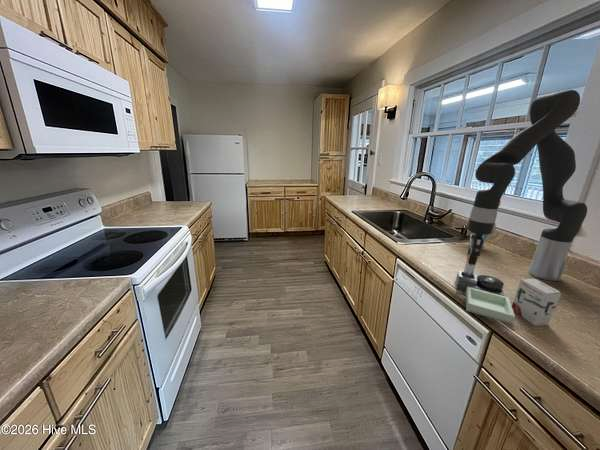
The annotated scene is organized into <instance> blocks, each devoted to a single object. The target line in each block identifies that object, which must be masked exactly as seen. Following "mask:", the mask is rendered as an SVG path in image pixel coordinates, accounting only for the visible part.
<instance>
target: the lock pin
mask: <svg viewBox="0 0 600 450" xmlns="http://www.w3.org/2000/svg"><path fill="white" fill-rule="evenodd" d="M469 257H470V255H468V254H467V255H466V261H465V266H464V270H463V271H464V273H463V276H464V277H468V278H472V276H473V274H475V273H474V272H475V268H476V265H477V262H478V259H479V256H478V257H477V261H476V264H475V265H471V264H469V263H468V261H469Z"/></svg>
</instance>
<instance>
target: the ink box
mask: <svg viewBox="0 0 600 450" xmlns="http://www.w3.org/2000/svg"><path fill="white" fill-rule="evenodd" d="M561 296H562V293H561V291H560V290H557V289H556V288H554V287H553V286H550V285H548V284H546V283H544V282H542V281H541V280H539V279H537V278H521V279H520V282H519V285H518V287H517V290H516V292H515V295H514V298H513V301H512V304H511V306H512V309H513V312H514V313H516V314H517V315H519V316H520V317H522V318H523V319H525V320H526V321H527V322H529V323H530V324H531V325H533V326H535V327H536V326H537V327H538V326H548V325H549V323H550V322H551V319H552V316H553V314H554V312H555V310H556V308H557V305H558V302H559V300H560V297H561Z"/></svg>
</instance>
